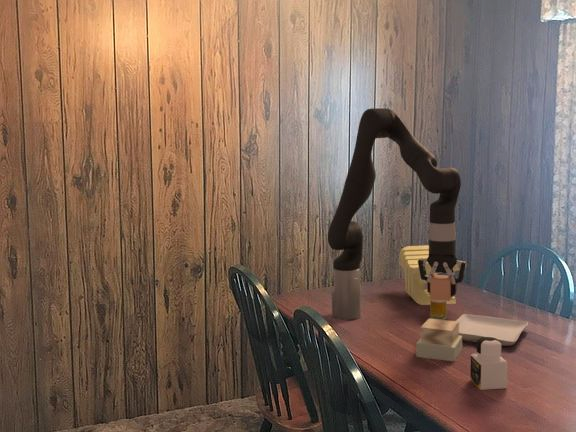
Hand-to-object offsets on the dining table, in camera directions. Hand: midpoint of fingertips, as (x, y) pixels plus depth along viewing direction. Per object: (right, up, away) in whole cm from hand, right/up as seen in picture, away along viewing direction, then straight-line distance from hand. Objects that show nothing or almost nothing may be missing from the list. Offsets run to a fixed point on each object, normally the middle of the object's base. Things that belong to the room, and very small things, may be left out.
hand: (442, 295), depth 192 cm
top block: (0, -13, +2) cm, 13 cm away
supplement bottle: (+7, -12, +35) cm, 37 cm away
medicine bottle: (+7, -21, -21) cm, 30 cm away
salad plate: (+18, -15, +16) cm, 29 cm away
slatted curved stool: (+9, -9, +58) cm, 59 cm away
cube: (0, -1, 0) cm, 1 cm away
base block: (0, -18, +2) cm, 18 cm away
